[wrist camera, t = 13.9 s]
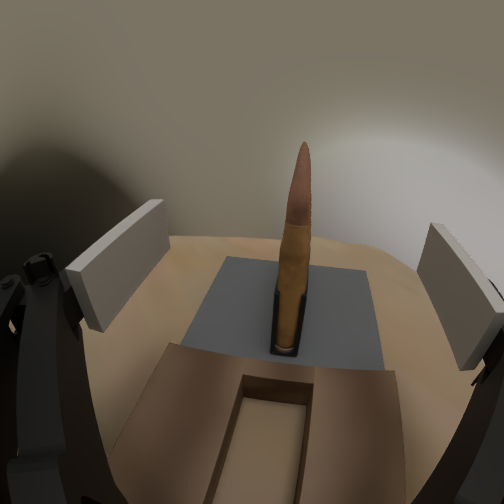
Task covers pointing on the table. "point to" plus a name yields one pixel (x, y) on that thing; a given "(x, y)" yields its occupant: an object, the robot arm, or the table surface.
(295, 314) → the ammunition clip
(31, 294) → the robot arm
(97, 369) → the table surface
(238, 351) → the slate mat
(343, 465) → the walnut caddy
